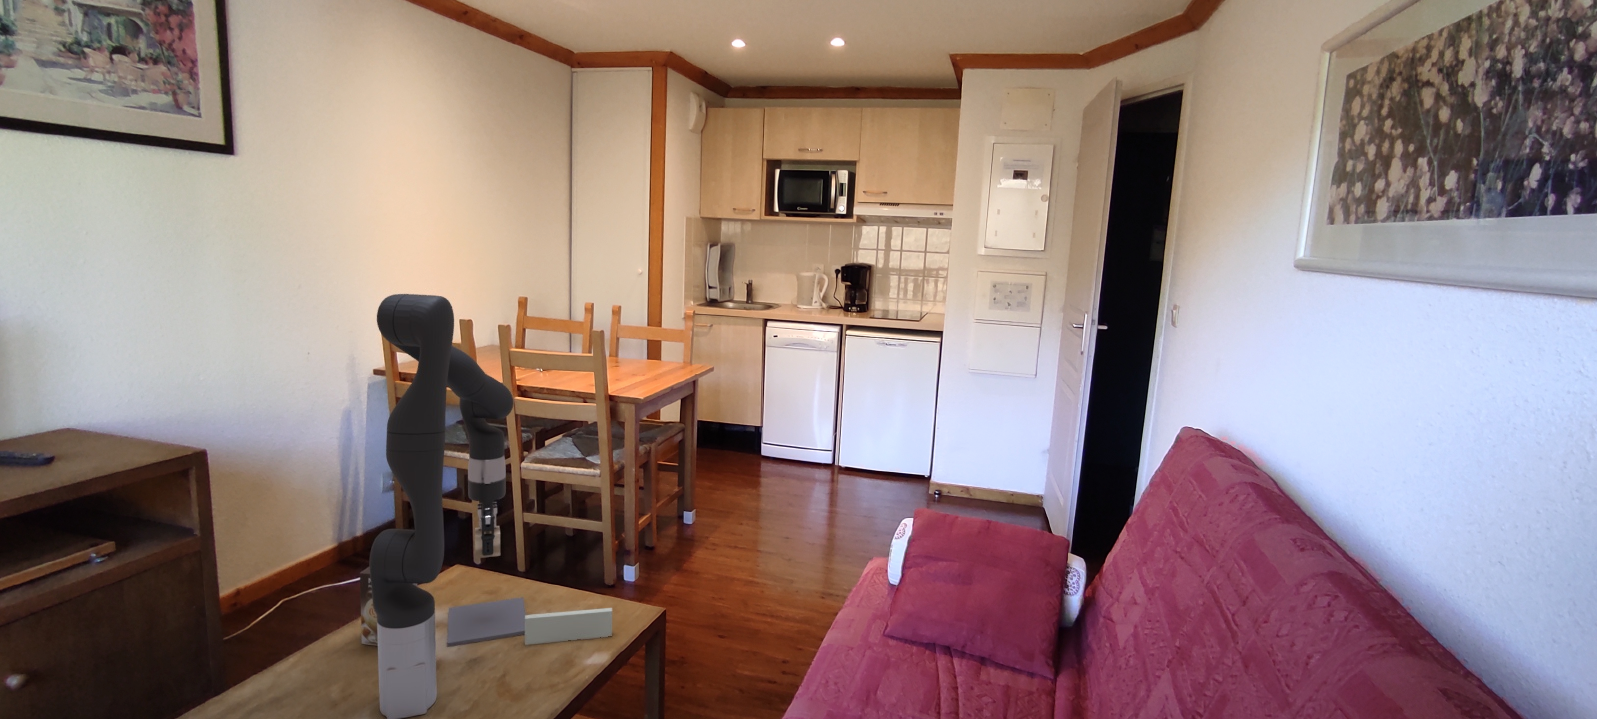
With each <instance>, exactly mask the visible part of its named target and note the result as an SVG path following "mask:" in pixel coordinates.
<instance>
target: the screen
mask: <svg viewBox="0 0 1597 719" xmlns="http://www.w3.org/2000/svg"><path fill="white" fill-rule="evenodd" d="M608 636H613V607H605V608H595V609H594V608H593V609H582V610H572V611H570V610H569V611H559V612H558V611H557V612H549V613H547V612H546V613H536V614H526V615H525V634H524V645H525V646H527V645H536V644H537V645H538V644H548V643H560V642H568V640H571V641H578V640H577V639H581V640H589V639H591V640H592V639H601V638H609V637H608ZM600 637H601V638H600Z"/></svg>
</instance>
